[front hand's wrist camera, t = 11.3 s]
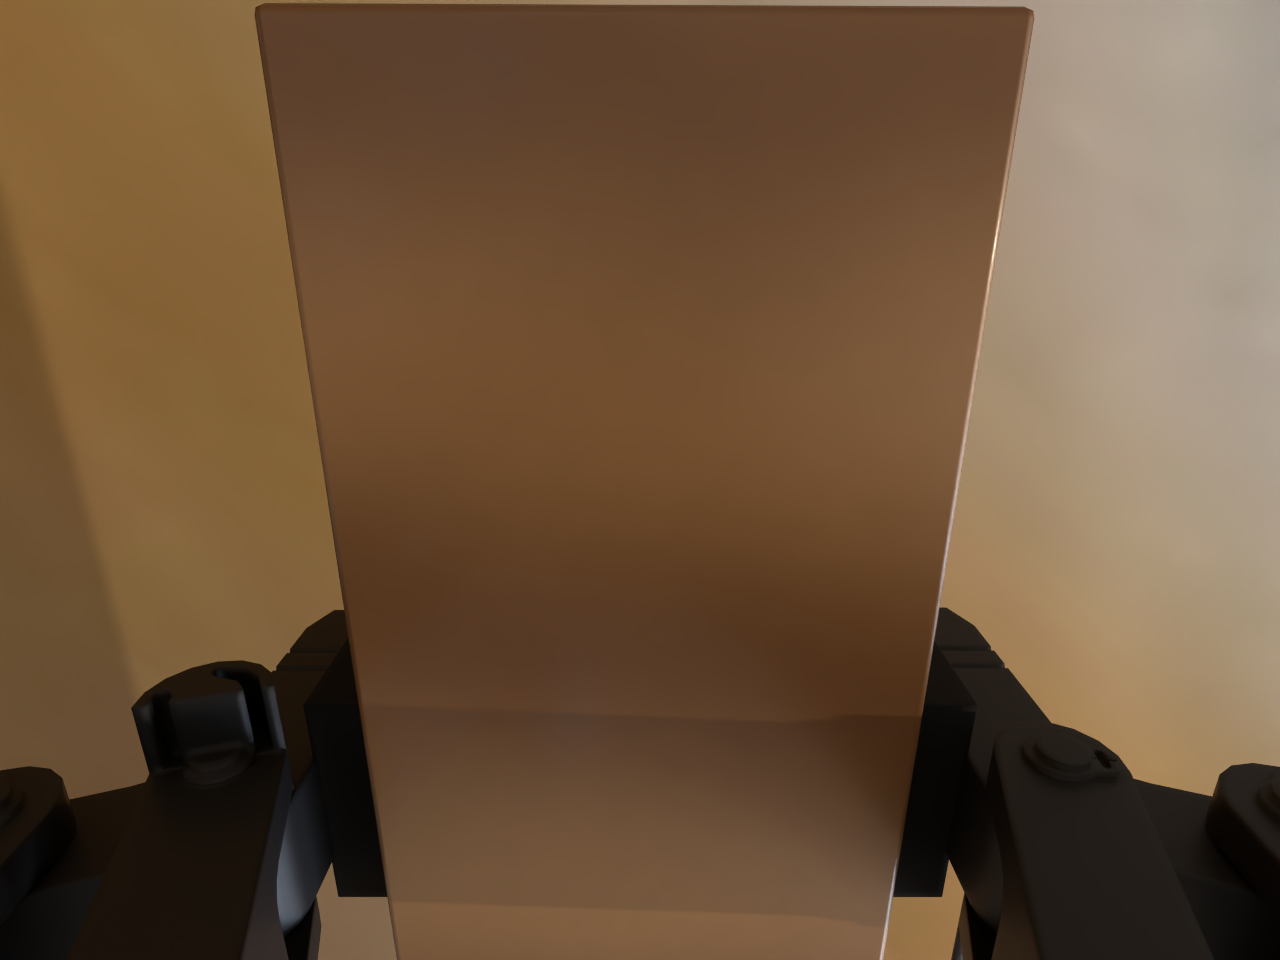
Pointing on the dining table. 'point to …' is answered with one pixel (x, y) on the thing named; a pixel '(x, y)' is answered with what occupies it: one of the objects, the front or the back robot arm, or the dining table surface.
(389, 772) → the beam
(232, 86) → the dining table surface
